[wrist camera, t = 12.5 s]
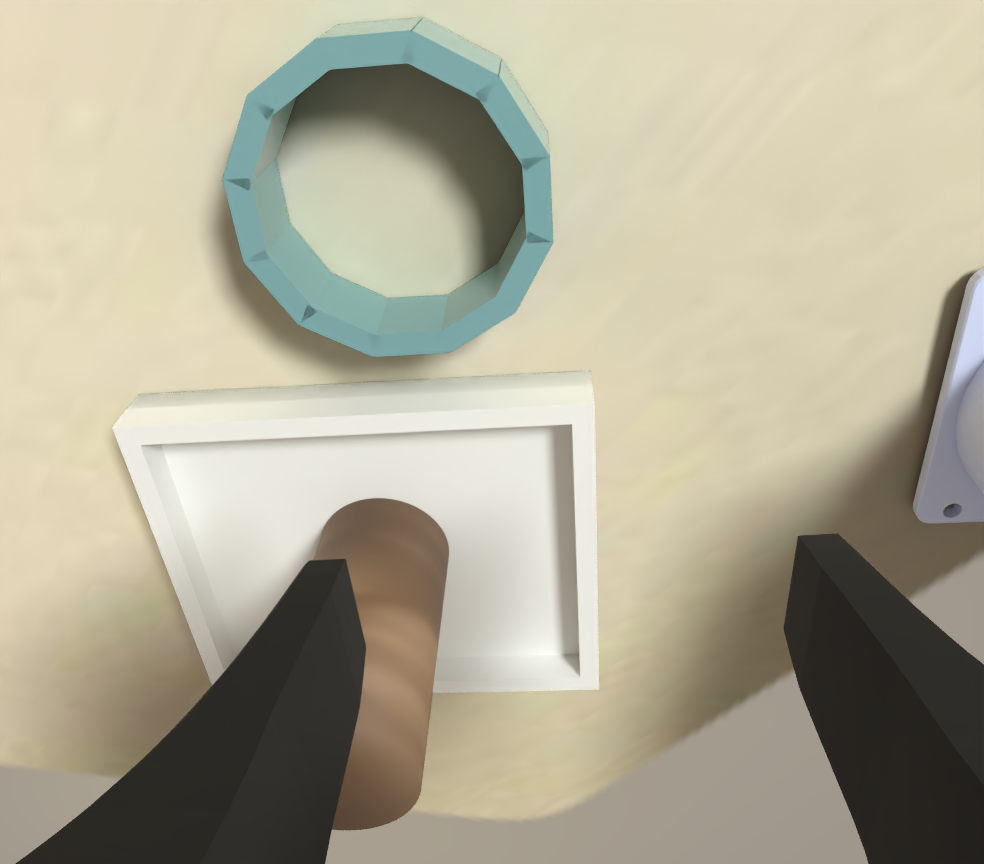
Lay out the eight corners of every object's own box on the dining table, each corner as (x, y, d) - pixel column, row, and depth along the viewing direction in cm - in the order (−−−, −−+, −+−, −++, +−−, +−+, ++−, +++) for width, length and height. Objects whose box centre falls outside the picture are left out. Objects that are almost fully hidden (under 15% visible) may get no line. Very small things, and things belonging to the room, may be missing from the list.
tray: (590, 370, 23) (594, 403, 21) (595, 648, 29) (599, 689, 27) (138, 394, 24) (111, 427, 22) (232, 658, 30) (217, 698, 28)
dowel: (441, 494, 24) (408, 720, 18) (455, 594, 27) (431, 829, 20) (309, 501, 25) (227, 724, 18) (333, 598, 27) (269, 831, 20)
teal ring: (542, 6, 18) (543, 18, 16) (555, 309, 22) (557, 346, 20) (222, 34, 19) (189, 49, 17) (290, 324, 22) (268, 362, 21)
